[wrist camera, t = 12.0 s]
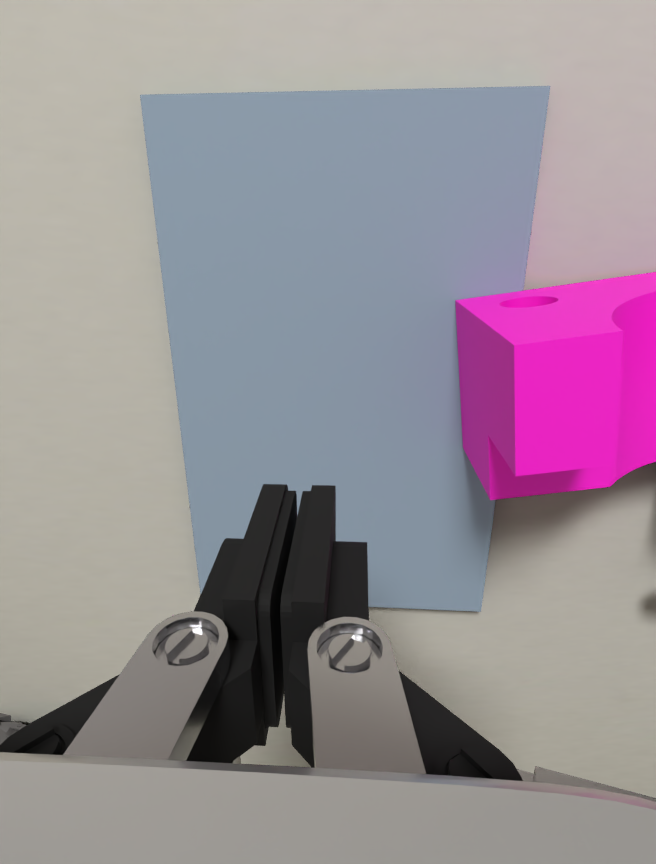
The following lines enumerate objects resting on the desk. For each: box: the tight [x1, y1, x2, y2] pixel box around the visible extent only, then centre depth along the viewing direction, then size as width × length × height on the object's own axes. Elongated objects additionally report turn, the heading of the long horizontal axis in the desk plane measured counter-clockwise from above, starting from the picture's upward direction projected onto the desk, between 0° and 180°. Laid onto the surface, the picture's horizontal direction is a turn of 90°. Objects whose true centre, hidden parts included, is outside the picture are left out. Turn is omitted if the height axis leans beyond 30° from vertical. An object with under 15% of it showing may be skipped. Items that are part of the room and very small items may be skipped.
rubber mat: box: [140, 86, 550, 612], centre depth 23 cm, size 14×22×1 cm, turn 0°
